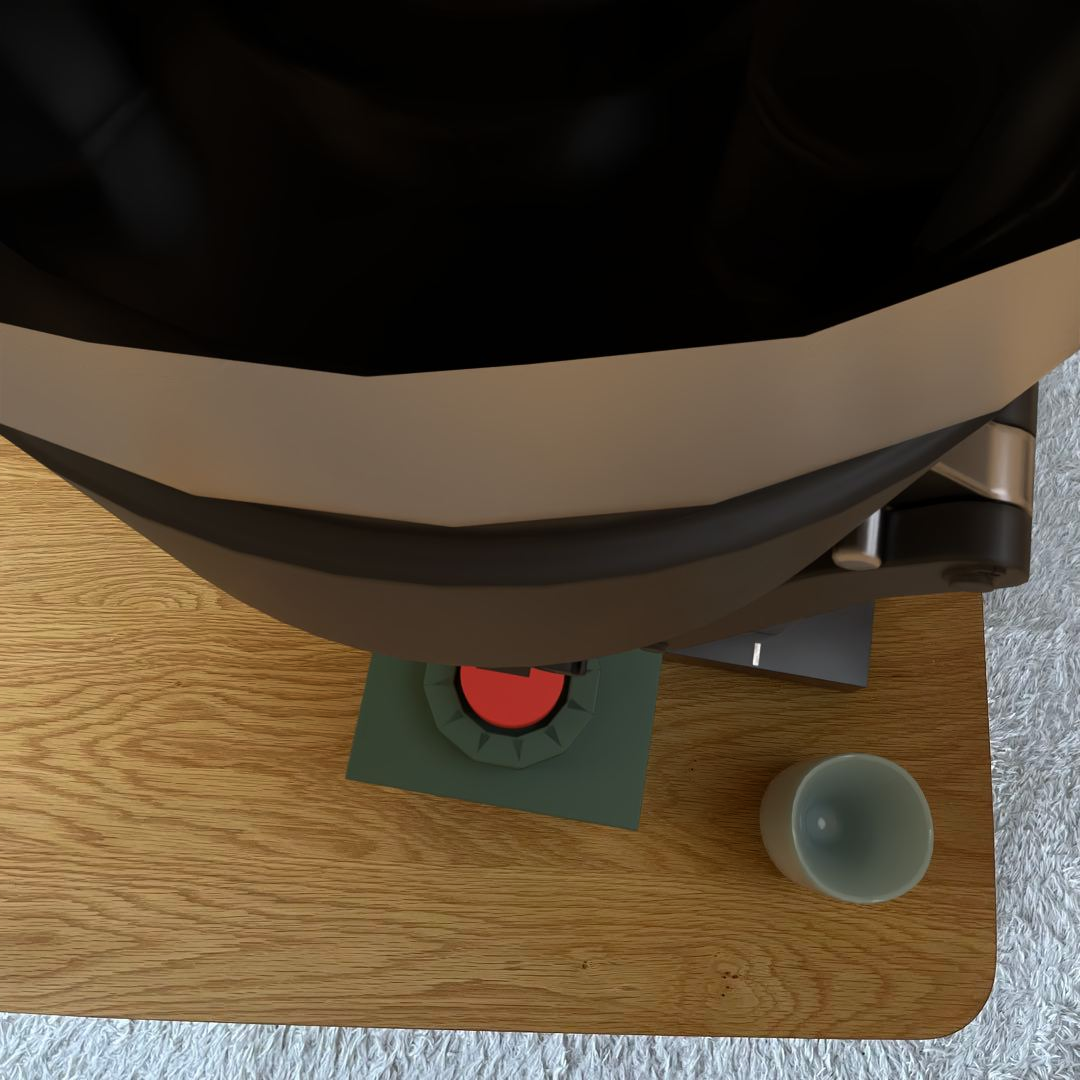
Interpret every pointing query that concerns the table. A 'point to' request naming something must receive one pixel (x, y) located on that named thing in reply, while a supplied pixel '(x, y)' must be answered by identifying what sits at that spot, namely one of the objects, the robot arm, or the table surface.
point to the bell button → (511, 695)
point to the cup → (848, 827)
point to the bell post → (513, 740)
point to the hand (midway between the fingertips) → (511, 624)
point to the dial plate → (797, 651)
